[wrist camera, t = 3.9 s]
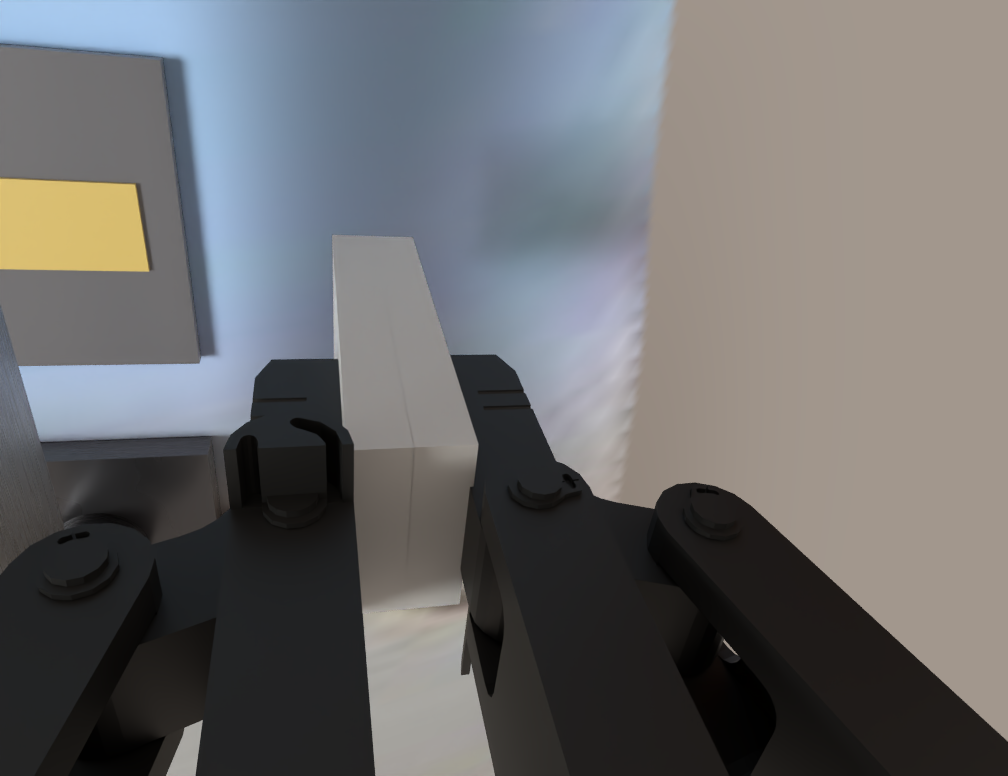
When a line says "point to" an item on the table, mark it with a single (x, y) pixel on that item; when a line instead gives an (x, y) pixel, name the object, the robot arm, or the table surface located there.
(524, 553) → the robot arm
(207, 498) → the dark grey square block
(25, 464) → the rail
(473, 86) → the table surface
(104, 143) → the label plate ochre
